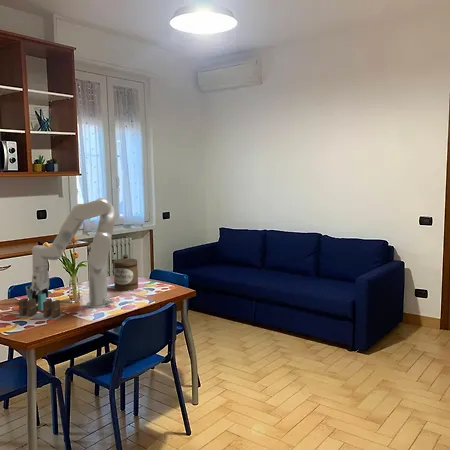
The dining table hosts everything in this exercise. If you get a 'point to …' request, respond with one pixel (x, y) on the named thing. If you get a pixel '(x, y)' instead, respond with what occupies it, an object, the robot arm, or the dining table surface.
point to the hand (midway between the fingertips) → (40, 299)
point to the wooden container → (125, 274)
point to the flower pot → (30, 292)
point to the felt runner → (40, 316)
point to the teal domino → (41, 300)
